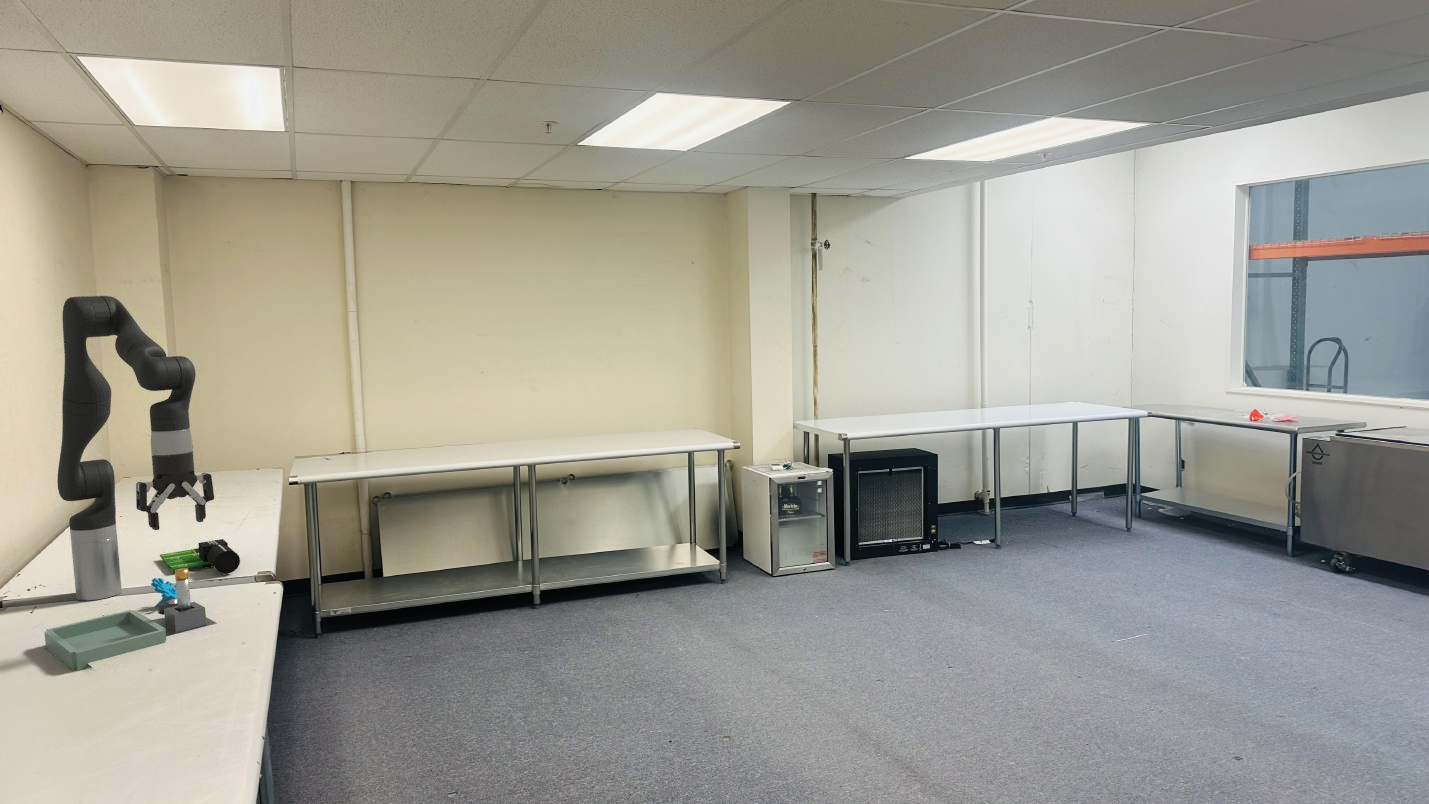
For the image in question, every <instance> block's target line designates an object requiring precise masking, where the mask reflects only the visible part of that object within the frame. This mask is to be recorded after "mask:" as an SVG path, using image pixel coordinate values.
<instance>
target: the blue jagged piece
mask: <svg viewBox="0 0 1429 804" xmlns="http://www.w3.org/2000/svg"><path fill="white" fill-rule="evenodd" d="M150 585H151V586H152V587H153V588H154V591H155V592H156V593H157V594H158V593H159V594H161V597H162V598H161V599H160V600H159V601H158V603H157V604H156V605H154V607H155V608H158V607H157V605H158V604H159V603H161V602H164V601H167V600H170V599H177V588H176V585H175V586H172V585H173V583H172V582H171V581H169V580H167V581H166V582H165V579H163V578H161V577H158V578H157V577H154V578H152V579H151V583H150Z"/></svg>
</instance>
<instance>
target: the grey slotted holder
mask: <svg viewBox="0 0 1429 804" xmlns="http://www.w3.org/2000/svg"><path fill="white" fill-rule="evenodd" d="M158 603H159V602H158ZM158 603H157V604H158ZM157 604H156V605H157ZM156 608H157V613H158V614H159V615H164V617H163V618H159V619H154V620H153V621H154V622H155V623H157V624H159V625H160V626H162V627H164V628H165V629H166V638H167V637H169V636H174V635H179V634H181V633H182V634H183V633H185V632H190V631H193V630H197V629H201V628H205V627H209V626H212V625H216V624H218V623H217V622H216V621H214V620H212V619H210V618H209V617H207V615H206V614H207V613H206V607H205V606H204V605H201V604H199V603H197V602H195V601H191V609H188V610H184V611H180V612H179V611H178V601H177V599H170V600H167V601H164V602H161V603H159V604H158V605H157V607H156Z"/></svg>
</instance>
